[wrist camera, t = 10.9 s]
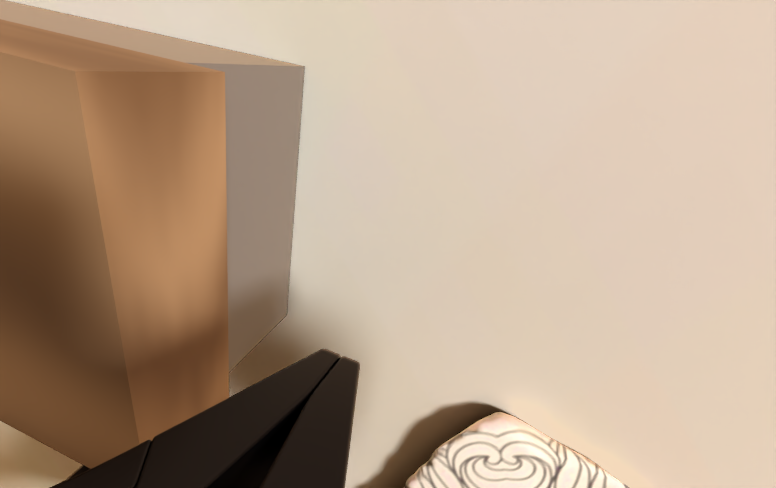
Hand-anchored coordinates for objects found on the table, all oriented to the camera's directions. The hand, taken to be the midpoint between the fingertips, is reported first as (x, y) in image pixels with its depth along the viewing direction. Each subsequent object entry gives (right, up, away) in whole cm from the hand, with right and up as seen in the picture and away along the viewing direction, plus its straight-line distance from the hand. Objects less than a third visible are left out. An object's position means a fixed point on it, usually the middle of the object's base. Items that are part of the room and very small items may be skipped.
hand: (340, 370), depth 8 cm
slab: (-11, +4, +4) cm, 12 cm away
